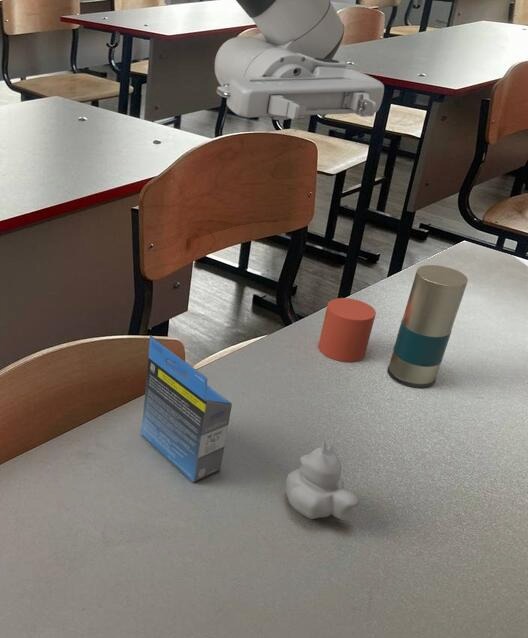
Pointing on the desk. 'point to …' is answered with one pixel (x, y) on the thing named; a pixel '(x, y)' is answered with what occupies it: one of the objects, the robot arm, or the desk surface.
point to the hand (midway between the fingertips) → (335, 111)
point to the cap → (346, 329)
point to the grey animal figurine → (320, 486)
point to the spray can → (426, 325)
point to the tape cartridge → (183, 414)
